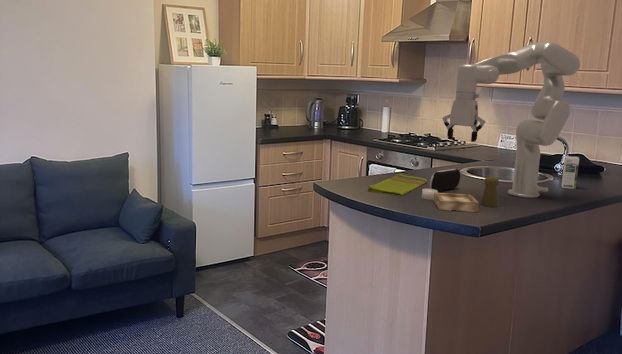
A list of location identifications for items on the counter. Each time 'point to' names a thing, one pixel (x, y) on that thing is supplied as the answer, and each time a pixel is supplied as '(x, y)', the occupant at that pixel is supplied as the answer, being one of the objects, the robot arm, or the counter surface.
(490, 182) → the cork
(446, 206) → the stand
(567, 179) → the syrup box
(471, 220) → the counter surface
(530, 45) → the robot arm
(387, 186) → the dish towel
